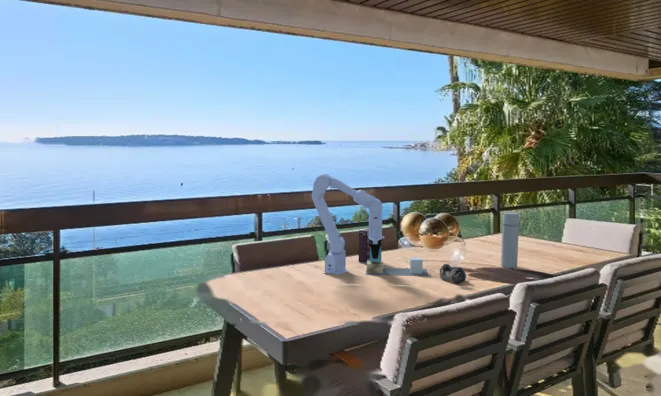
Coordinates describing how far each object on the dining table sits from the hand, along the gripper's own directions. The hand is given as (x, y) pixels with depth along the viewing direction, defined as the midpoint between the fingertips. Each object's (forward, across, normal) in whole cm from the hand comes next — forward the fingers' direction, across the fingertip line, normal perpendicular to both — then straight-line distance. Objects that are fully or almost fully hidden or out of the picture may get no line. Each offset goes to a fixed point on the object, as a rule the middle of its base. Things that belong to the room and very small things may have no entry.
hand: (375, 257), depth 223 cm
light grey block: (+6, 0, -18) cm, 19 cm away
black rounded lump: (+7, -13, -31) cm, 34 cm away
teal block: (+2, 0, 0) cm, 2 cm away
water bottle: (+7, +17, -62) cm, 65 cm away
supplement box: (+7, +20, +4) cm, 22 cm away
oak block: (+6, 0, 0) cm, 6 cm away
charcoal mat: (+7, 0, -10) cm, 12 cm away
